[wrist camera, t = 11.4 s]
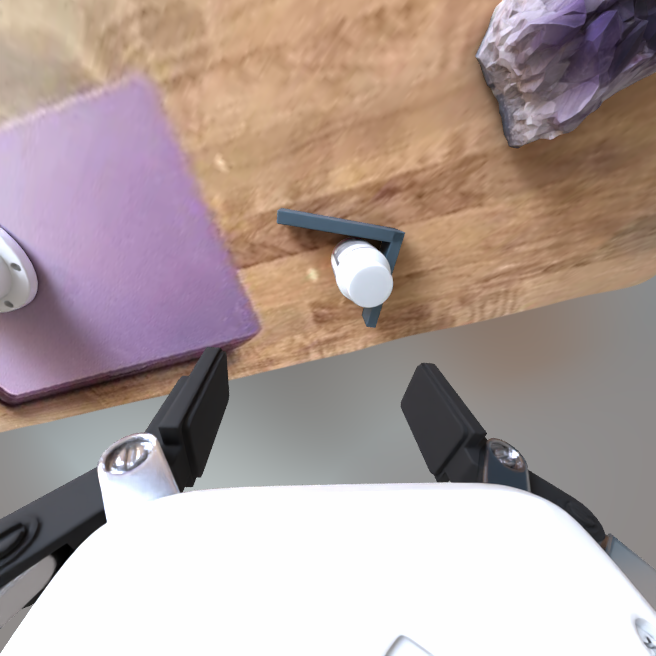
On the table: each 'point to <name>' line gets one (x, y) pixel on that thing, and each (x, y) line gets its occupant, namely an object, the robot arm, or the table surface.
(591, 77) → the geode
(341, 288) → the pill bottle
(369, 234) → the corner
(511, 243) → the table surface
